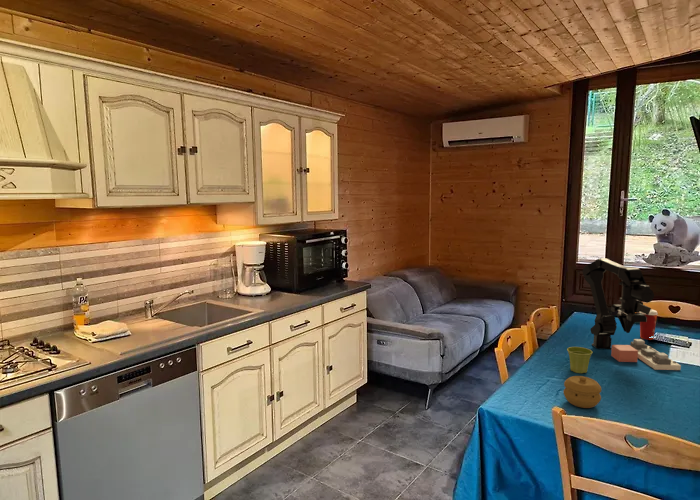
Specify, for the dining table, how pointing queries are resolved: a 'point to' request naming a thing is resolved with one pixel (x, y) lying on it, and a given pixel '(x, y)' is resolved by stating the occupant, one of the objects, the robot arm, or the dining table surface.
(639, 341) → the breaker left
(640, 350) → the breaker panel
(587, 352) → the plant pot
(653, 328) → the paper cup
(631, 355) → the terracotta orange block
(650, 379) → the dining table surface
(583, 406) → the pot
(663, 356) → the breaker right
